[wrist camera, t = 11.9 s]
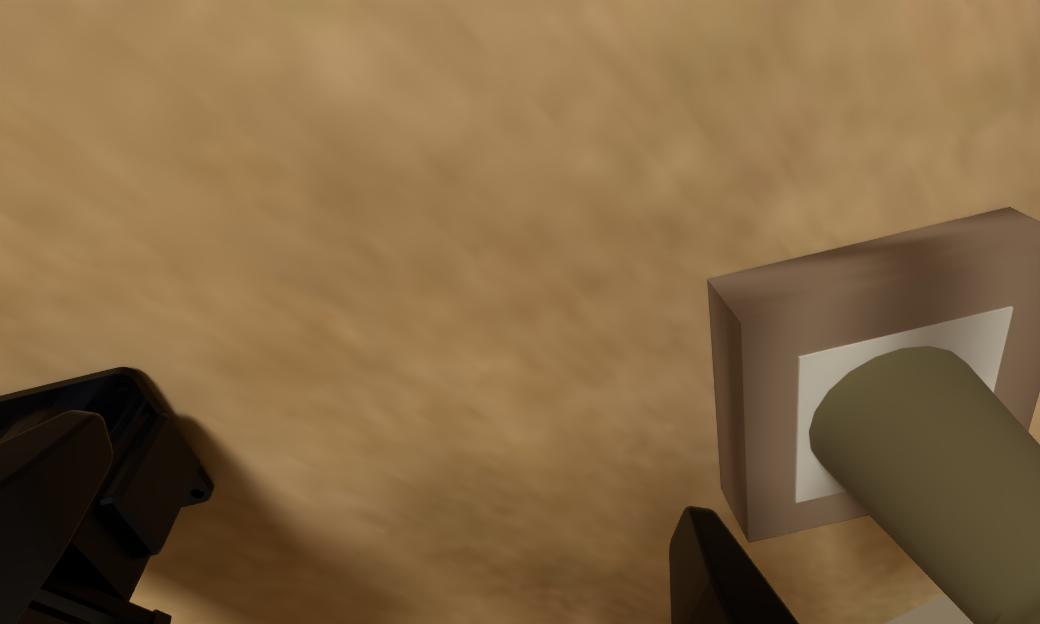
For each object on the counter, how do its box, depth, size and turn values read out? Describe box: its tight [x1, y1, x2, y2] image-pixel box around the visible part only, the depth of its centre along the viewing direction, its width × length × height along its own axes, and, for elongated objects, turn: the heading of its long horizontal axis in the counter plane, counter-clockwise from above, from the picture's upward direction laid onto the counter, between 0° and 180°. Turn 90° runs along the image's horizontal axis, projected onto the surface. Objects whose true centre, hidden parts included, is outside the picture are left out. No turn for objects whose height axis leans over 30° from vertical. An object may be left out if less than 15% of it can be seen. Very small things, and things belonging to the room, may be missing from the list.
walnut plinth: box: [708, 207, 1040, 543], centre depth 24 cm, size 11×11×3 cm
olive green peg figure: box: [809, 346, 1040, 624], centre depth 18 cm, size 6×6×11 cm
